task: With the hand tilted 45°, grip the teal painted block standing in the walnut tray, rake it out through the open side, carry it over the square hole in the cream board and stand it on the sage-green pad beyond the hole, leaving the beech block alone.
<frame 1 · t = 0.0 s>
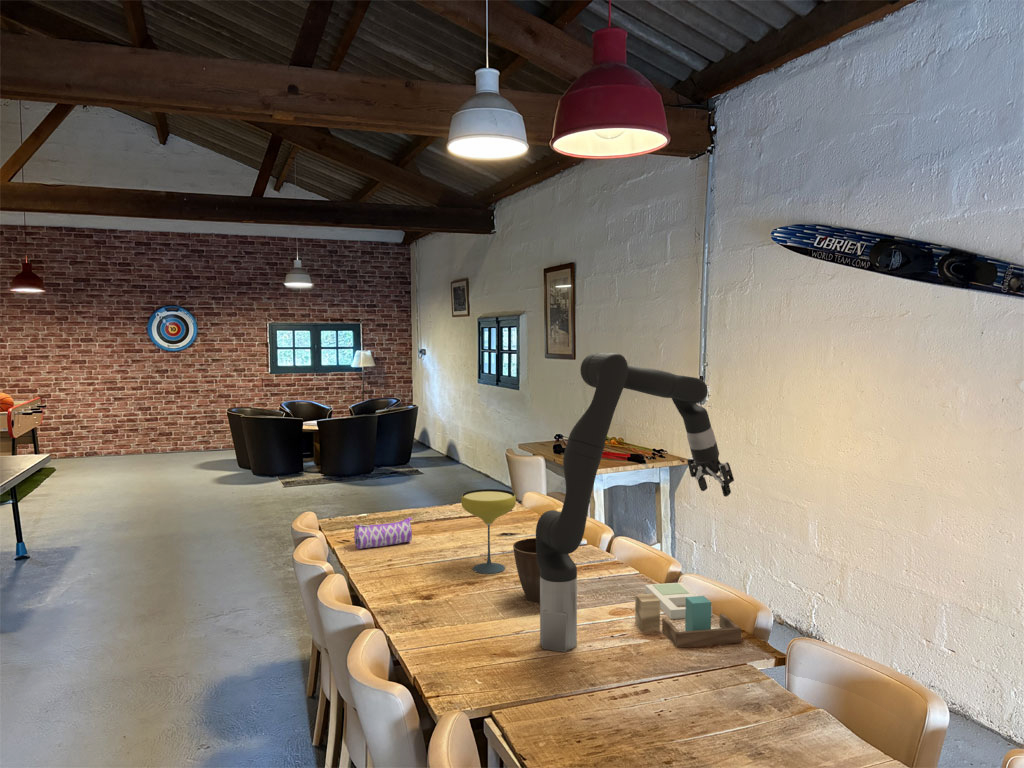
hand: (715, 492, 204), 31 cm above the table, tool tilted 20°, fingers open, 8 cm apart
plant pot: (538, 599, 206), on the table
cream hole board: (677, 603, 201), on the table
beech block: (647, 627, 186), on the table
cocktail glass: (489, 569, 233), on the table
pencil case: (382, 545, 261), on the table
teal block: (697, 633, 181), resting in walnut tray
walnut tray: (699, 634, 180), on the table
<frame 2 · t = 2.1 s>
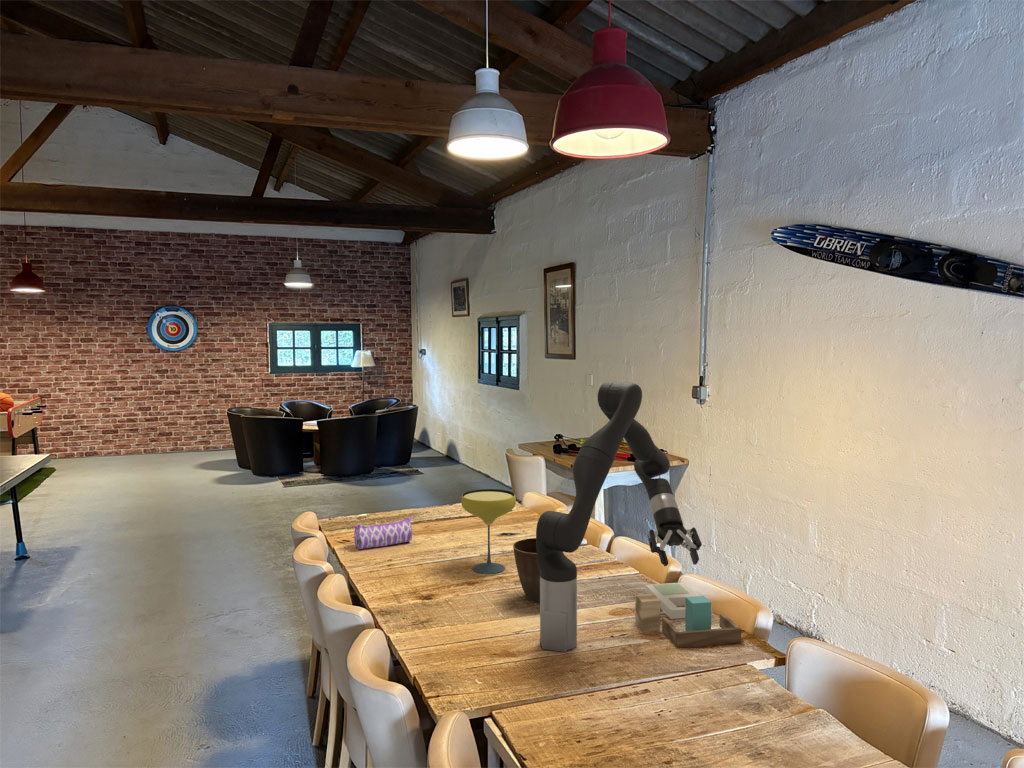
hand: (681, 564, 192), 15 cm above the table, tool tilted 45°, fingers open, 8 cm apart
nothing on the table moved.
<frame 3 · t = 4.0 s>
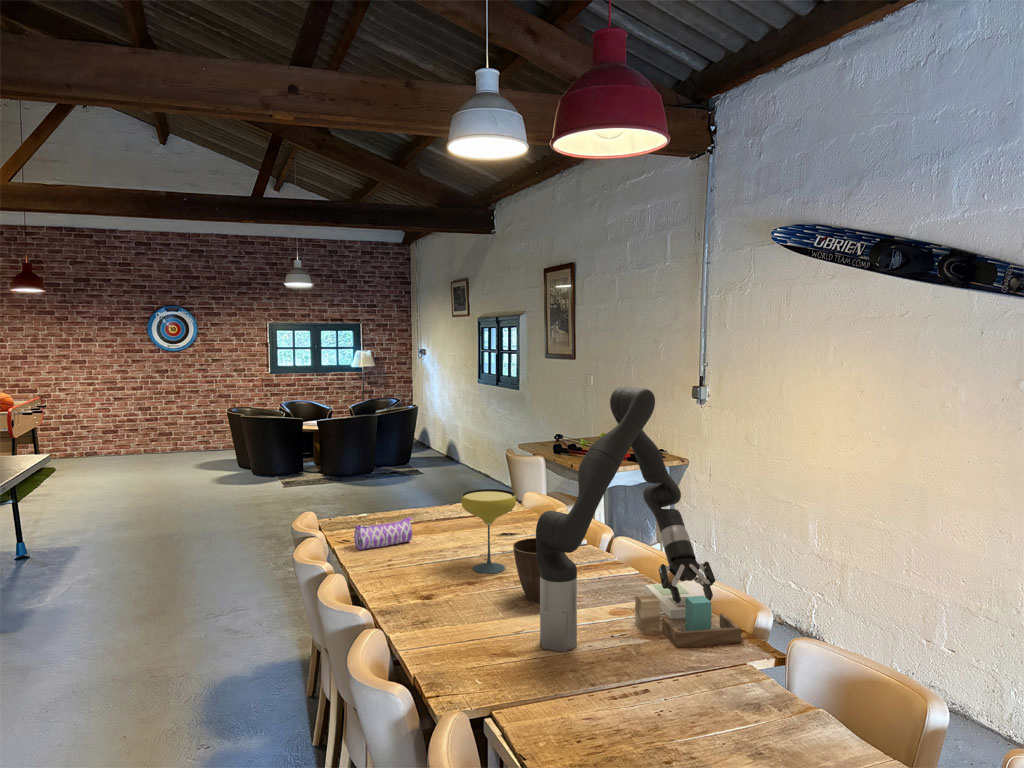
hand: (694, 601, 183), 8 cm above the table, tool tilted 45°, fingers open, 8 cm apart
nothing on the table moved.
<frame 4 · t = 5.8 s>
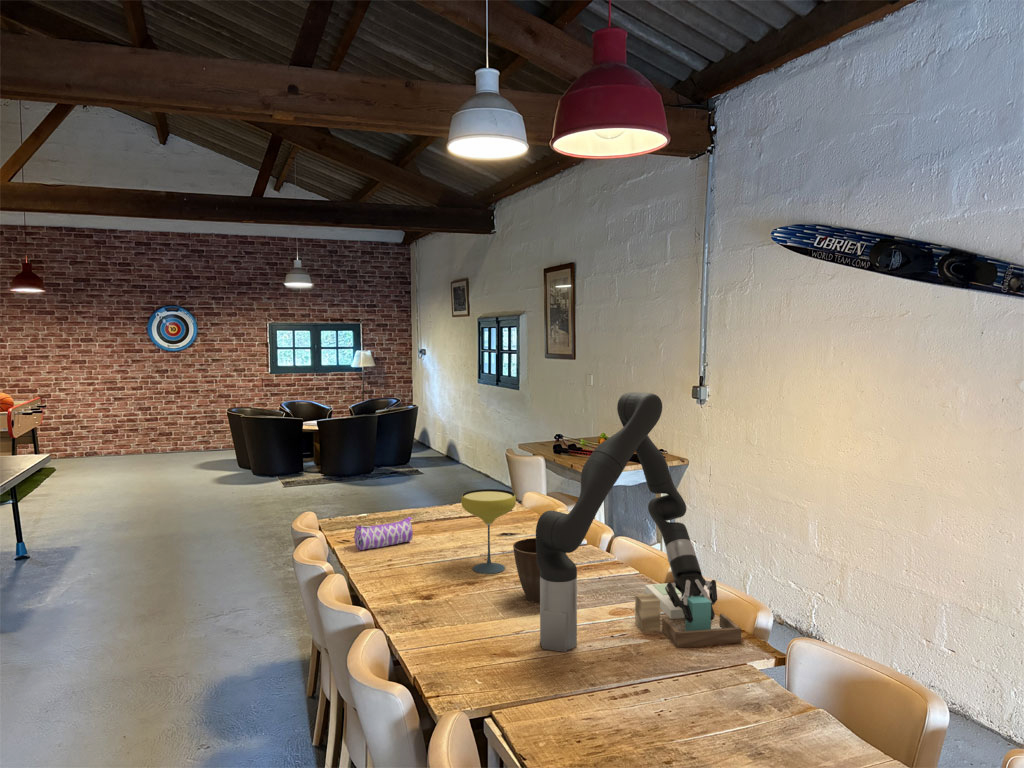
hand: (701, 620, 179), 4 cm above the table, tool tilted 45°, fingers closed on teal block, 5 cm apart
teal block: (697, 633, 181), resting in walnut tray, touching gripper
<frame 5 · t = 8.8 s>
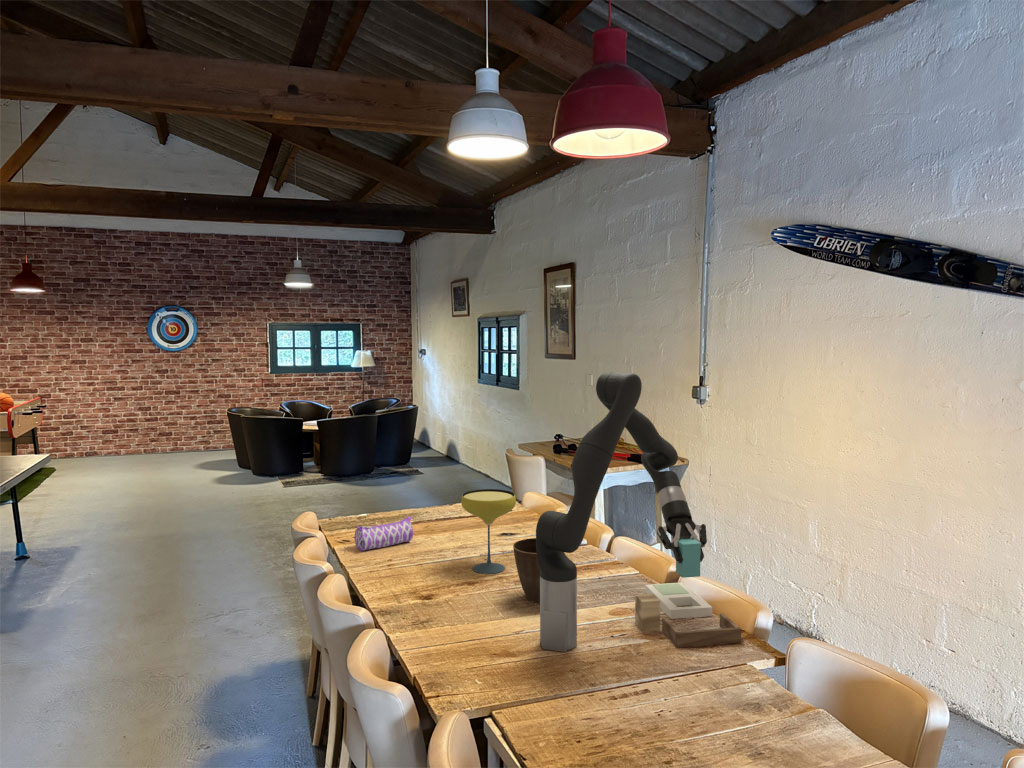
hand: (690, 561, 186), 17 cm above the table, tool tilted 45°, fingers closed on teal block, 5 cm apart
teal block: (687, 574, 188), point 13 cm above the table, touching gripper
when the fingers open (8 cm above the table, at t = 12.0 s): teal block drops 1 cm, resting on cream hole board.
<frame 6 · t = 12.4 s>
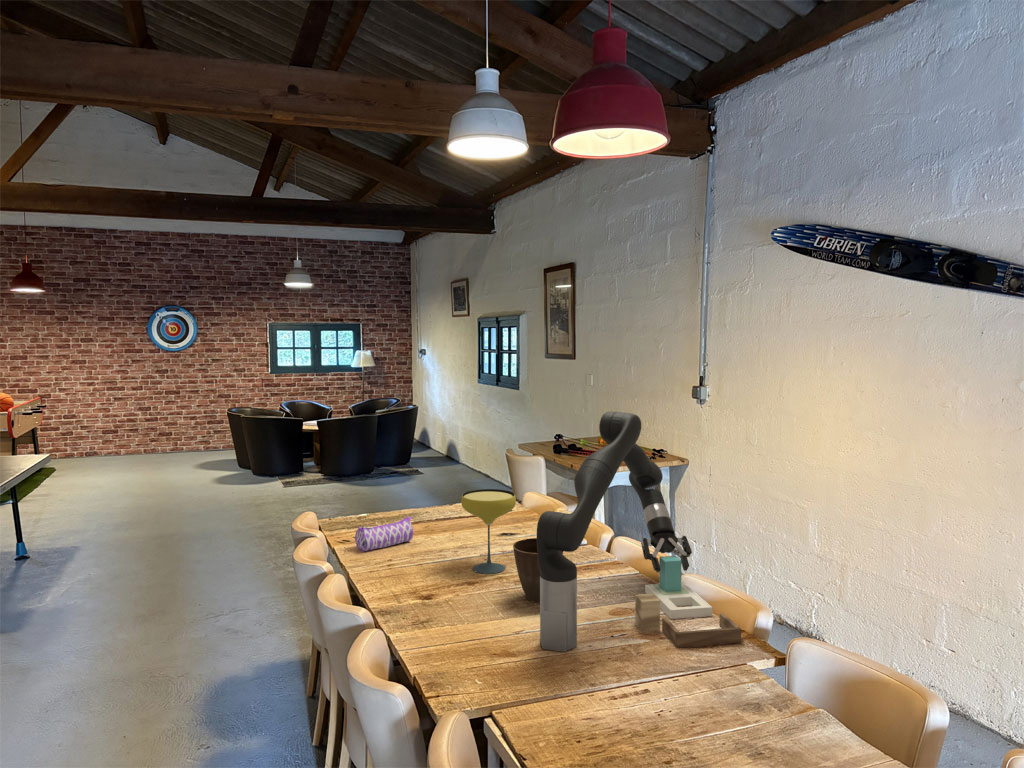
hand: (672, 570, 204), 9 cm above the table, tool tilted 45°, fingers open, 8 cm apart
teal block: (670, 588, 206), point 3 cm above the table, touching cream hole board
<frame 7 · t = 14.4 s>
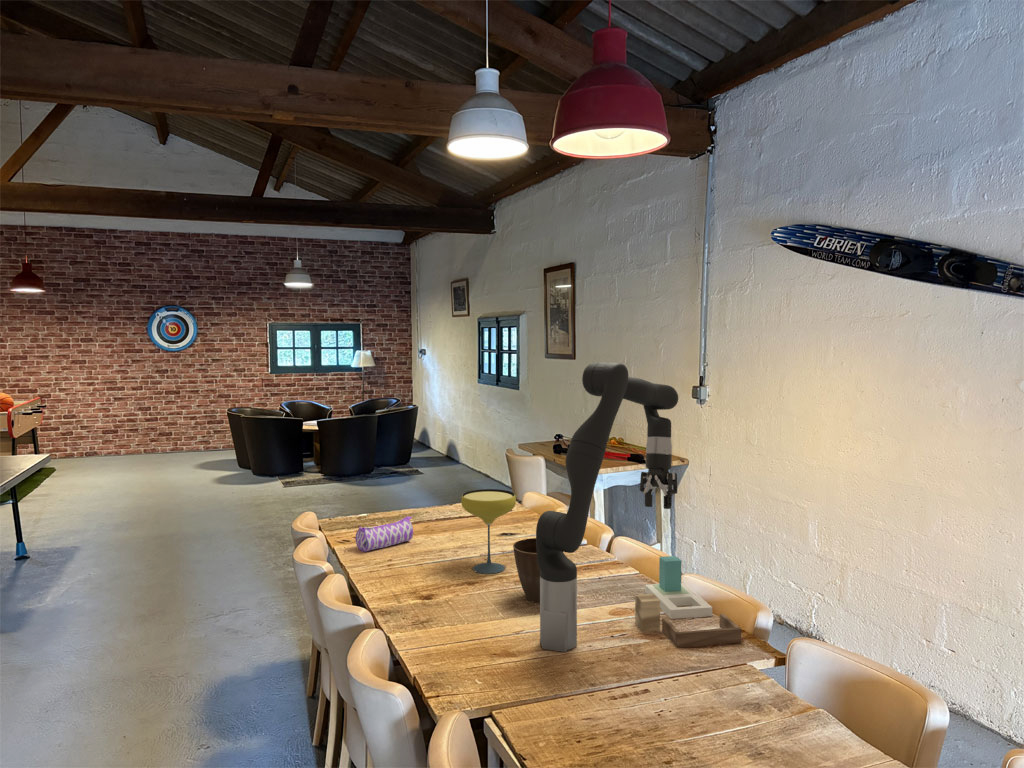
hand: (657, 507, 206), 27 cm above the table, tool pointing down, fingers open, 8 cm apart
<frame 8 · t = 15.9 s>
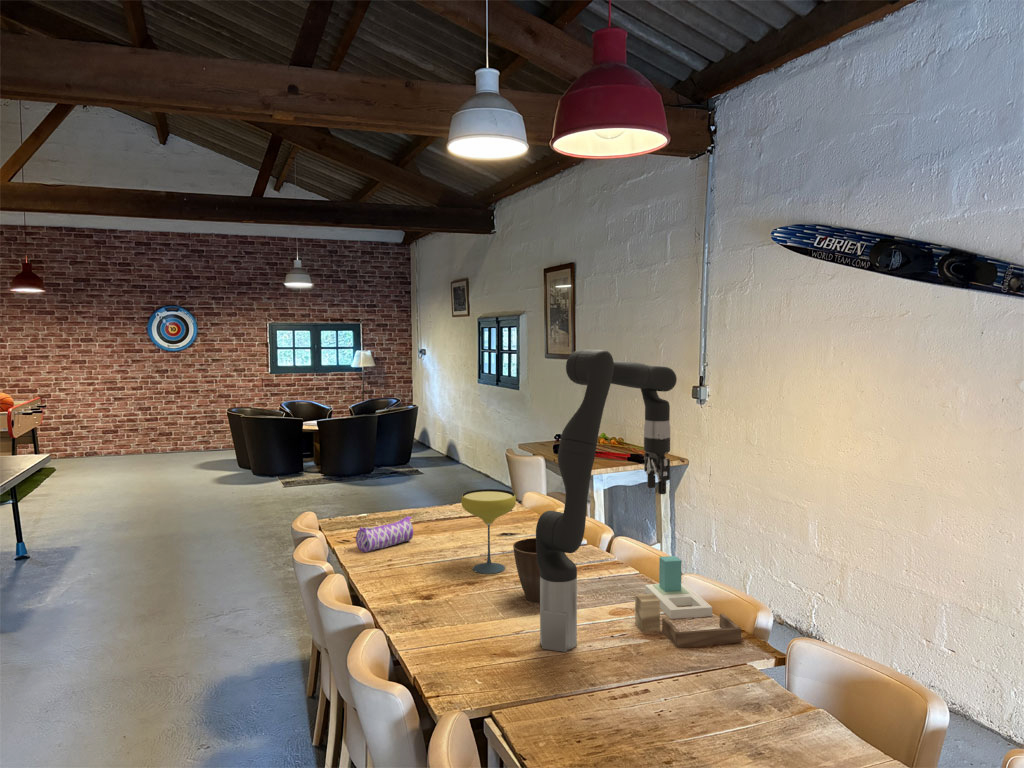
hand: (656, 490, 204), 32 cm above the table, tool pointing down, fingers open, 8 cm apart
at the end: teal block inside the target area (0.0 cm from its centre), point 2.7 cm above the table; teal block tilted 0°; the gripper is holding nothing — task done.
